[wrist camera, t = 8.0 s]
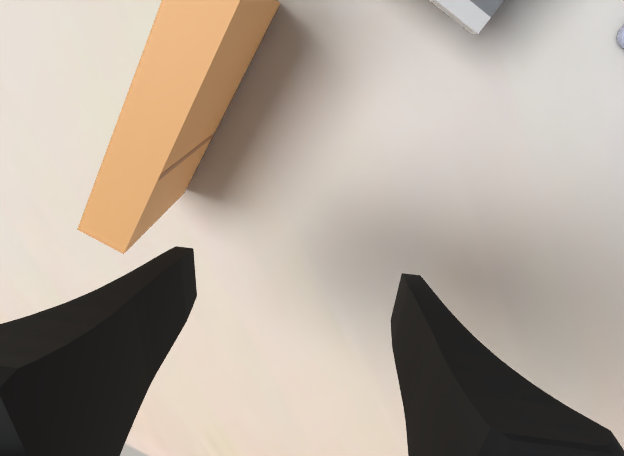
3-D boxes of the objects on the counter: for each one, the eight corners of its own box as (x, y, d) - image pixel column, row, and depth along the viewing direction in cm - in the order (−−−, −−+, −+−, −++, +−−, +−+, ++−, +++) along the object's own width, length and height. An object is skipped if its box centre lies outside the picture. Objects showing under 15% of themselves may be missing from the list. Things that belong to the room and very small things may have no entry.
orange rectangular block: (184, 193, 21) (123, 254, 16) (151, 174, 21) (77, 229, 15) (280, 3, 17) (246, -11, 11) (240, -26, 16) (182, -58, 11)
